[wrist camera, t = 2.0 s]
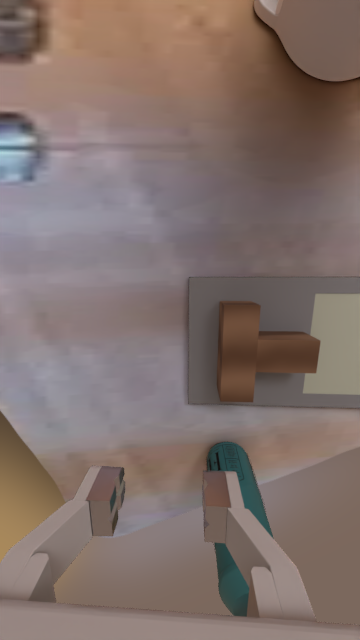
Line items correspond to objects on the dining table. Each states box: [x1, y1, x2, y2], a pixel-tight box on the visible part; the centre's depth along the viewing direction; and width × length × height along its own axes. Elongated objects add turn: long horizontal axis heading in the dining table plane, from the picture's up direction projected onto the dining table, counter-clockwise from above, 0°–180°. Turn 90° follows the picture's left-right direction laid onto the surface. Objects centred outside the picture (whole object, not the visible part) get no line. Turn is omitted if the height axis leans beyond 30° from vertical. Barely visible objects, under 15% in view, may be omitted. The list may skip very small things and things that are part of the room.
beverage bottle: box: [206, 442, 274, 617], centre depth 24 cm, size 6×7×20 cm
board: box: [188, 277, 360, 408], centre depth 29 cm, size 18×29×1 cm, turn 90°
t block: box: [217, 301, 321, 402], centre depth 27 cm, size 12×11×4 cm
